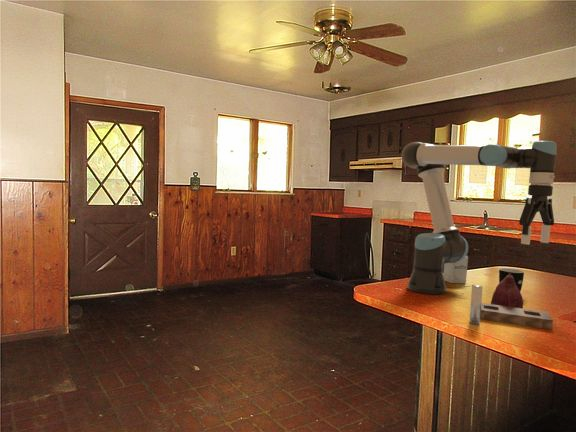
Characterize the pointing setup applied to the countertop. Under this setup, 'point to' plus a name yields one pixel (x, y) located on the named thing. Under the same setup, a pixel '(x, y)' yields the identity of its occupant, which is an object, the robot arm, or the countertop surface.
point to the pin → (476, 304)
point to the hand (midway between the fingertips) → (535, 243)
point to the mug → (515, 273)
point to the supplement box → (456, 271)
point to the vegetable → (507, 293)
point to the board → (516, 316)
